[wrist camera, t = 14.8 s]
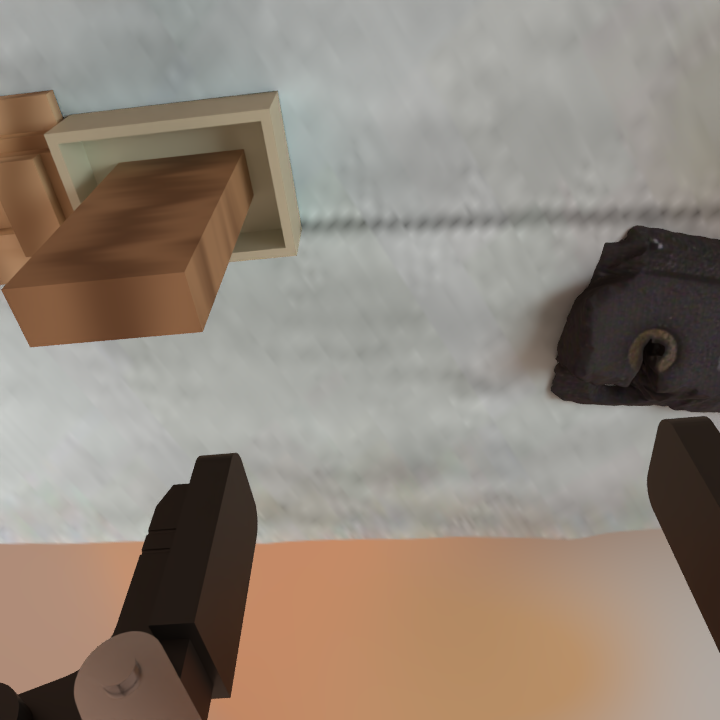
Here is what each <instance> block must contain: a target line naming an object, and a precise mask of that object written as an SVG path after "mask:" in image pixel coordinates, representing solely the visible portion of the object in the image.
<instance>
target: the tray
mask: <svg viewBox="0 0 720 720" xmlns="http://www.w3.org/2000/svg"><path fill="white" fill-rule="evenodd" d="M44 137H45V139H46V142H47V144H48V147H49V149H50V152H51V155H52V157H53V160H54V162H55V165H56V167H57V170H58V172H59V175H60V177H61V180H62V182H63V185H64V187H65V190H66V193H67V195H68V198H69V200H70V203H71V205H72V208H73V210H74V211H75V210H76V208H77V207H78V206H79V205H80V204H81V203H82V202H83V201H84V200H85V199H86V198H87V197H88V196H89V194H90V193H91V192H92V191H93V190H94V189H95V188H96V187H97V186H98V185H99V184H100V183H101V181H102V180H103V179H104V178H105V177H106V176H107V175H108V174H109V173H110V172H111V171H112V170H113V169H114V167H115V166H116V165H117V164H118V163H120V162H130V161H139V160H148V159H157V158H166V157H175V156H185V155H194V154H203V153H212V152H221V151H230V150H240V149H244V152H245V157H246V161H247V166H248V170H249V175H250V180H251V184H252V189H253V194H254V196H253V199H252V202H251V204H250V207H249V210H248V212H247V215H246V218H245V220H244V223H243V226H242V228H241V231H240V234H239V236H238V239H237V242H236V244H235V247H234V250H233V252H232V255H231V258H230V260H229V262H235V261H245V260H255V259H266V258H276V257H286V256H297V252H298V246H299V241H300V236H301V231H302V227H301V221H300V215H299V210H298V204H297V198H296V193H295V187H294V181H293V176H292V170H291V164H290V159H289V153H288V147H287V142H286V136H285V130H284V125H283V119H282V113H281V108H280V102H279V96H278V91H272V92H263V93H255V94H246V95H237V96H229V97H220V98H211V99H203V100H194V101H185V102H177V103H168V104H160V105H151V106H142V107H134V108H125V109H116V110H108V111H99V112H91V113H82V114H73V115H69V116H68V117H67V118H65V119H64V120H62V121H61V122H60V123H58V124H57V125H56V126H54V127H53V128H52V129H50V130H49V131H48V132H46V133H45V134H44Z"/></svg>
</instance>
